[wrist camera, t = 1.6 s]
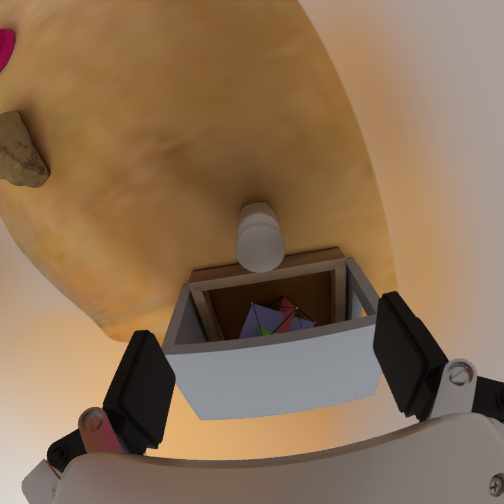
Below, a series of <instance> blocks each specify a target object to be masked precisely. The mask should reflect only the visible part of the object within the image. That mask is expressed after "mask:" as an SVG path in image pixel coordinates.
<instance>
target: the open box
mask: <svg viewBox="0 0 504 504" xmlns="http://www.w3.org/2000/svg"><path fill="white" fill-rule="evenodd" d="M379 298H380V297H379V296H378V294H377V292H376V291H375V289H374V288H373V286H372V285H371V283H370V282H369V280H368V279H367V277H366V276H365V274H364V273H363V271H362V270H361V268H360V267H359V266H358V264H357V263H356V261H355V260H354V258H348V259H346V302H345V321H344V322H339V323H334V324H329V325H324V326H319V327H314V328H308V329H303V330H297V331H291V332H285V333H279V334H272V335H266V336H258V337H251V338H243V339H235V340H227V341H217V342H210V341H209V338H208V336H207V333H206V331H205V328H204V325H203V323H202V320H201V317H200V315H199V312H198V309H197V307H196V304H195V301H194V298H193V295H192V293H191V290H190V287H189V285H183V286H182V289H181V292H180V295H179V297H178V300H177V303H176V306H175V309H174V312H173V314H172V317H171V320H170V323H169V326H168V329H167V332H166V335H165V338H164V341H163V344H162V347H161V349H162V351H163V353H164V355H165V357H166V358H167V360H168V362H169V364H170V366H171V367H172V369H173V371H174V373H175V376H176V382H175V383H176V385H177V386H178V388H179V389H180V391H181V392H182V394H183V395H184V397H185V398H186V400H187V401H188V403H189V404H190V406H191V407H192V409H193V410H194V412H195V413H196V415H197V416H198V417H199V419H200V420H225V419H242V418H254V417H264V416H273V415H281V414H288V413H295V412H301V411H307V410H313V409H318V408H323V407H328V406H333V405H337V404H341V403H346V402H350V401H354V400H358V399H361V398H365V397H369V396H372V395H375V394H376V391H377V387H378V384H379V380H380V377H381V373H382V369H381V367H380V365H379V362H378V360H377V358H376V356H375V354H374V351H373V340H374V333H375V325H376V317H377V308H378V300H379ZM362 306H363V308H364V310H365V312H366V314H367V316H366V317H362V318H361V311H362Z"/></svg>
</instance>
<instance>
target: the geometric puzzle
mask: <svg viewBox="0 0 504 504" xmlns="http://www.w3.org/2000/svg"><path fill="white" fill-rule="evenodd" d="M283 297H284V299H283V301H282V303H281V306H276V307H280V308H279V311H275V310H272V309H269V308H266V307H262V306H259V305H265V304H258V305H256V303H257V302H256V303H251V304H252V306H251V308H250V311H249V313H248V316H247V318H246V321H245V323H244V326H243V328H242V331H241V333H240V335H239V338H238V339H243V338H251V337H258V336H266V335H272V334H279V333H285V332H291V331H297V330H303V329H308V328H313V327H314V326H315V324H316V322H314V321H313V320H312V319H311V318H309V317H308V316H307V315H306V314H305V313H304V312H303V311H302V313H303V314H304V315H306V316H307V317H308V318H309V319H311V320H312V321H313V322H311V321H308V320H305V319H301V318H298V317H299V313H298V317H295V316H294V314H295V312H296V309H297V312H298V310H299V309H298V307H297V306H296V305H295V304H294V303H292V302H291V301H290V300H289V299H288V298H287V297H286V295H284V296H283ZM283 297H282V296H281V298H283ZM277 298H278V297H277ZM281 298H280V299H281ZM273 299H274V298H273ZM269 300H270V299H269ZM278 300H279V299H278ZM278 300H276V301H278ZM264 301H265V300H264ZM276 301H275V302H276ZM260 302H261V301H260ZM273 303H274V302H273ZM273 303H272V304H273ZM268 306H274V305H271V304H270V305H267V307H268ZM299 311H300V310H299Z"/></svg>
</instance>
